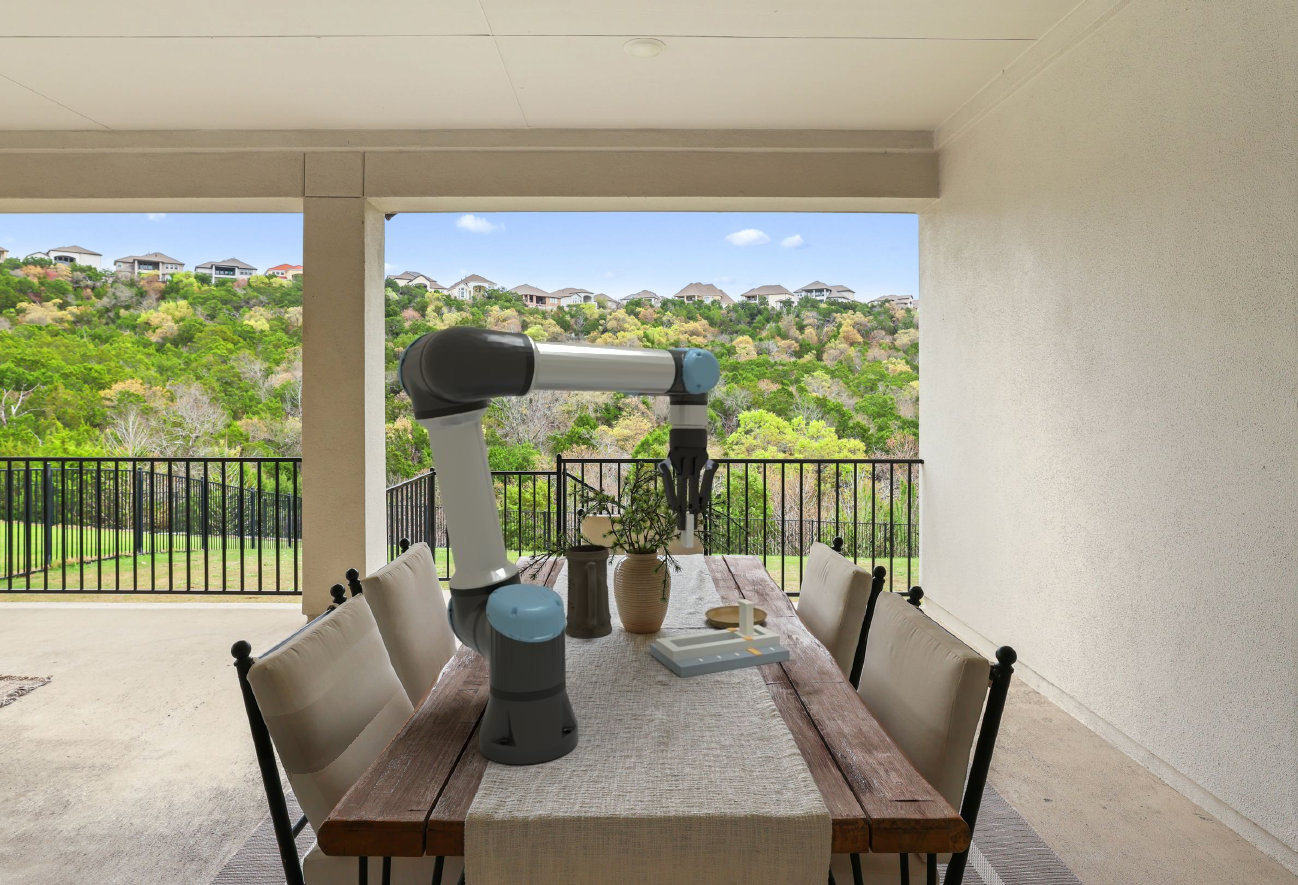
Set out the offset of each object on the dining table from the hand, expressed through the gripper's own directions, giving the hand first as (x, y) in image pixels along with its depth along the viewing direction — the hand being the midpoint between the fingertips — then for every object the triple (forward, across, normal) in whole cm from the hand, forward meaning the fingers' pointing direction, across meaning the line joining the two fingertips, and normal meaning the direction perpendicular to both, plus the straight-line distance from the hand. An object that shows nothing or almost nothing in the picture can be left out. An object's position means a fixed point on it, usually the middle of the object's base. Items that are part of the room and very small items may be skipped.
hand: (687, 546), depth 150 cm
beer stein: (+24, +10, -29) cm, 39 cm away
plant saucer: (+24, -24, -22) cm, 40 cm away
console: (+24, -8, -2) cm, 25 cm away
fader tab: (+21, -15, -2) cm, 26 cm away
